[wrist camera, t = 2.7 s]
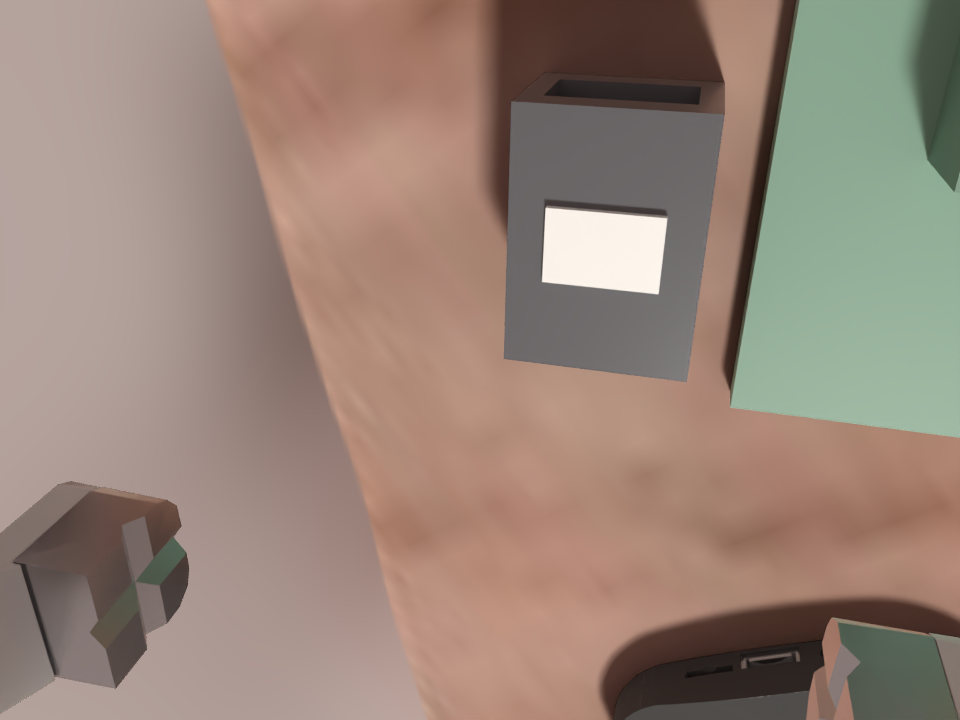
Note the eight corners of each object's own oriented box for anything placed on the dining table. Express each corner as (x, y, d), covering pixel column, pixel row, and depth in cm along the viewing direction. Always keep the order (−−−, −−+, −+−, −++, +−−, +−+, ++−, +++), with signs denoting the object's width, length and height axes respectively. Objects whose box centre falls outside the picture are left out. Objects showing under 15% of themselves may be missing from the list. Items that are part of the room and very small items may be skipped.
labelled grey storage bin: (692, 314, 27) (686, 385, 23) (534, 297, 28) (502, 362, 24) (724, 82, 24) (724, 116, 19) (544, 72, 25) (509, 103, 21)
